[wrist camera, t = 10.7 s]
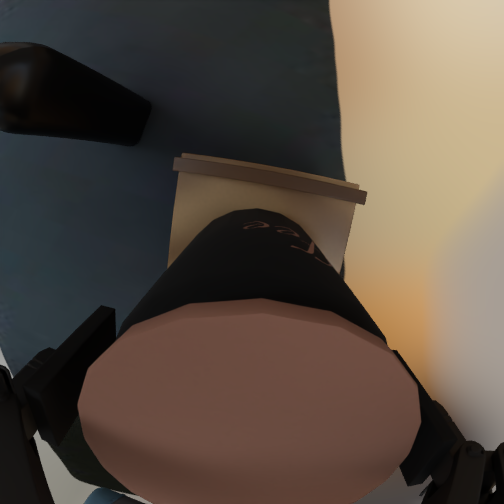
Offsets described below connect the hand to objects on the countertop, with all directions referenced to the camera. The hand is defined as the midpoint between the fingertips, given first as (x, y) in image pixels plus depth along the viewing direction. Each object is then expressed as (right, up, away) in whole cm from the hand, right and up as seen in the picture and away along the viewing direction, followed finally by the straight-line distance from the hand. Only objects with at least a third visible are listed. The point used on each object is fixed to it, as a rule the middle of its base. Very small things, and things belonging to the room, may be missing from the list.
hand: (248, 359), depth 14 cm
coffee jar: (0, +3, +11) cm, 12 cm away
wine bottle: (-14, +20, +18) cm, 30 cm away
